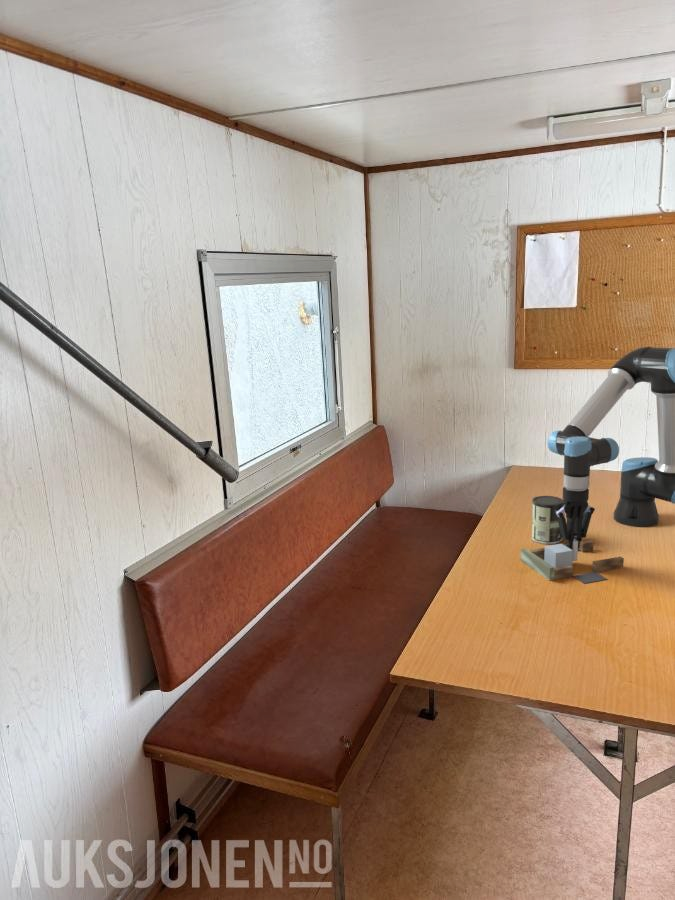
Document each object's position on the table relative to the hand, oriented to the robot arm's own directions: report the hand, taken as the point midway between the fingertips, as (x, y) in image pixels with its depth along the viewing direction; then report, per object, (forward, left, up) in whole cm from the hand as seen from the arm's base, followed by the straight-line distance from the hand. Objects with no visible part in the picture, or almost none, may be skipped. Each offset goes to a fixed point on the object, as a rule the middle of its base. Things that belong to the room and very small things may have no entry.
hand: (572, 559), depth 210 cm
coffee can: (-5, -21, -2) cm, 22 cm away
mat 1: (-5, -11, -2) cm, 12 cm away
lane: (0, 0, -2) cm, 2 cm away
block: (+5, 0, -2) cm, 5 cm away
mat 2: (+1, +11, -2) cm, 11 cm away
